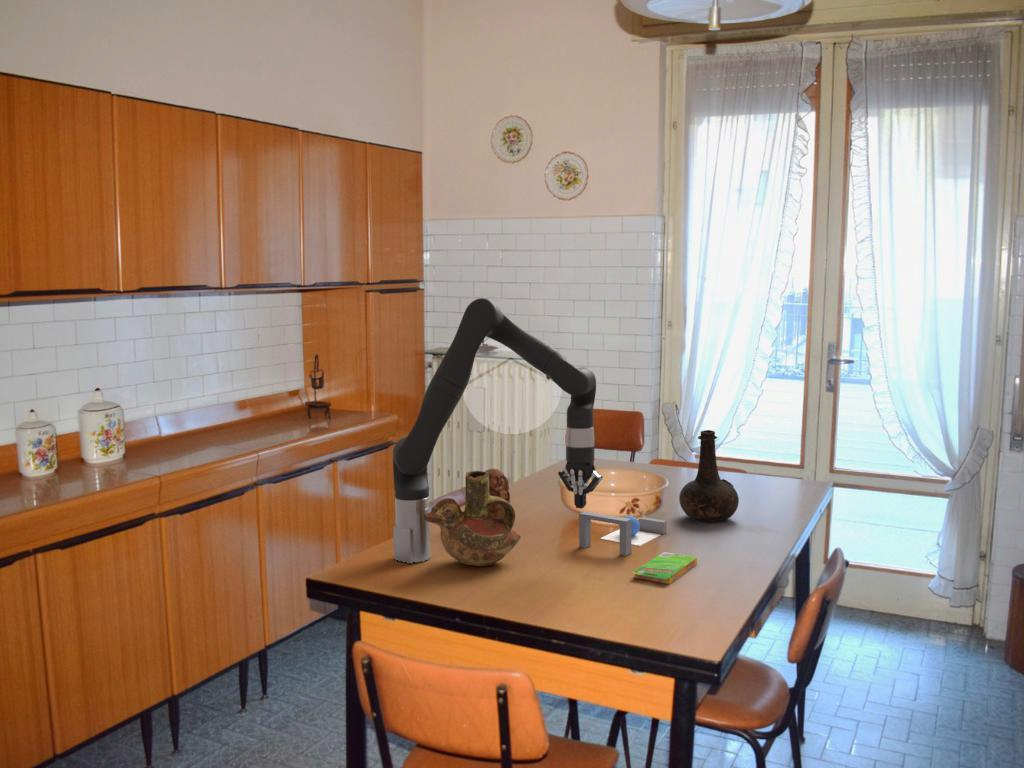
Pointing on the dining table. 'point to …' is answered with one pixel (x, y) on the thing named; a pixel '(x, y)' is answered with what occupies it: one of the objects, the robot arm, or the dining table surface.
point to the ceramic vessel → (475, 524)
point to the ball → (633, 525)
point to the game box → (665, 567)
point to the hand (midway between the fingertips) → (580, 507)
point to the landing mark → (632, 537)
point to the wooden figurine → (498, 491)
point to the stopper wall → (652, 525)
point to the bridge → (623, 522)
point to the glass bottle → (708, 488)
